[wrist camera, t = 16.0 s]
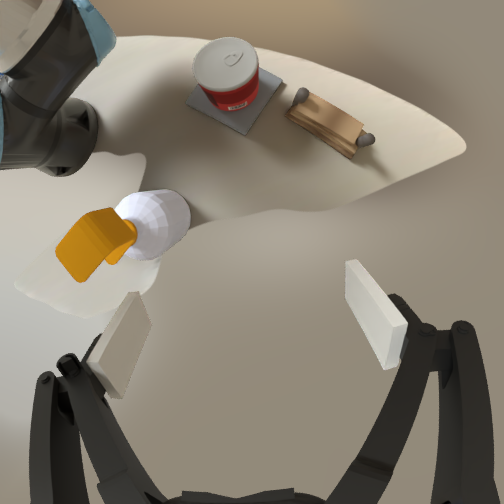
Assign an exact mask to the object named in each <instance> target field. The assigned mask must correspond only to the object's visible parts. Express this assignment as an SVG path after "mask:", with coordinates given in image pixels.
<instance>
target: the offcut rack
mask: <svg viewBox="0 0 504 504" xmlns="http://www.w3.org/2000/svg"><path fill="white" fill-rule="evenodd" d="M285 117H287V118H289V119H290V120H292V121H293V122H295V123H297V124H298V125H300V126H301V127H303V128H305V129H306V130H308V131H309V132H311V133H312V134H314V135H315V136H317V137H318V138H320V139H321V140H323V141H324V142H326V143H327V144H329V145H330V146H332V147H333V148H334V149H336V150H337V151H339V152H340V153H341V154H343V155H344V156H346V157H347V158H348V159H352V157H353V155H354V154H355V152H356V151H357V149H358V148H361V147H365V146H368V145H371V144H374V142H375V137H374V135H373V134H371V133H368V134H367V133H366V132H365V131H364V130H362V127H363V126H364V124H363V123H361V122H359V121H358V120H356V119H355V118H353V117H352V116H350V115H349V114H347V113H345V112H344V111H342V110H340V109H339V108H337V107H335V106H334V105H332V104H330V103H329V102H327V101H325V100H323V99H322V98H320V97H318V96H316V95H314V94H313V93H311V92H309V91H308V90H307V89H306V88H300V89H299V90H298V91H297V94H296V96H295V98H294V101H293V103H292V106H291V108H290V109H289V111H288V112H287V114H286V116H285Z"/></svg>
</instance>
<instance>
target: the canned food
mask: <svg viewBox="0 0 504 504" xmlns="http://www.w3.org/2000/svg"><path fill="white" fill-rule="evenodd" d="M192 69H193V74H194V77H195V79H196V81H197V82H198V84H199V86H200V87H201V89H202V90H203V92H204V93H205V95H206V96H207V98H208V99H209V101H210V102H211V103H212V104H213V105H214V106H215V107H216V108H218V109H220V110H224V111H236V110H240V109H243V108H245V107H246V106H248V105H249V104H250V103H251V102H253V100H254V99H255V98H256V96H257V93H258V89H259V63H258V56H257V53H256V51H255V49H254V47H253V46H252V45H250V44H249V43H248V42H246V41H245V40H242V39H239V38H235V37H226V38H219V39H216V40H213V41H211V42H209V43H208V44H206V45H205V46H203V47H202V48H201V49H200V50H199V52H198V53H197V54H196V56H195V58H194V61H193V68H192Z"/></svg>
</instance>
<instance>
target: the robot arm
mask: <svg viewBox="0 0 504 504" xmlns="http://www.w3.org/2000/svg"><path fill="white" fill-rule="evenodd" d="M115 44H116V36H115V34H114V32H113V30H112V29H111V27H110V26H109V24H108V23H107V22H106V20H105V19H104V18H103V16H102V15H101V14H100V13H99V12H98V11H97V9H96V8H94V6H93V5H92V4H91V3H90V2H89V0H0V73H2V74H4V76H3V77H2V79H1V80H0V170H5V169H19V168H36V169H38V170H40V171H42V172H44V173H46V174H48V175H50V176H54V177H62V176H69V175H71V174H74V173H75V172H77V171H78V170H79V169H80V168H82V166H83V165H84V164H85V163H86V162H87V160H88V159H89V157H90V155H91V153H92V151H93V149H94V146H95V143H96V139H97V132H98V122H97V117H96V114H95V111H94V109H93V108H92V106H91V105H90V104H89V103H87V102H85V101H83V100H80V99H77V98H69V97H70V95H71V94H72V93H73V92H74V91H75V89H76V88H77V87H78V86H79V85H80V84H81V82H82V81H83V80H84V79H85V78H86V77H87V76H88V75H89V73H90V72H91V71H92V70H93V69H94V68H95V67H98V66H99V65H100V63H101V61H102V60H103V59H104V58H105V57H106V56H107V55H108V54H109V53H110V51H111V50H112V49H113V48H114V47H115ZM345 268H346V269H345V299H346V301H347V303H348V305H349V306H350V308H351V310H352V312H353V314H354V315H355V317H356V319H357V321H358V322H359V324H360V326H361V328H362V330H363V332H364V334H365V335H366V337H367V339H368V341H369V343H370V345H371V346H372V348H373V350H374V352H375V354H376V356H377V358H378V360H379V362H380V364H381V366H382V368H383V370H387V369H390V368H394V367H397V366H398V363H399V359H401V364H400V367H399V369H398V372H397V375H396V377H395V380H394V382H393V385H392V387H391V389H390V392H389V394H388V396H387V399H386V401H385V403H384V405H383V408H382V409H381V412H380V414H379V416H378V418H377V420H376V422H375V424H374V426H373V428H372V430H371V432H370V433H369V435H368V437H367V439H366V441H365V443H364V445H363V447H362V448H361V450H360V452H359V453H358V455H357V457H356V458H355V460H354V461H353V462H352V463H351V465H350V466H349V468H348V469H347V471H346V473H345V474H344V476H343V477H342V479H341V480H340V482H339V483H338V485H337V486H336V488H335V489H334V490H333V492H332V493H331V495H330V496H329V497H328V499H327V500H326V501H325V500H323V499H321V498H319V497H316V496H313V495H310V494H305V493H296V492H295V493H294V488H289V489H281V490H271V491H263V492H260V493H257V494H253V495H249V496H245V497H241V498H230V497H225V496H221V495H217V494H212V493H208V492H191V491H182V496H180V497H175V498H172V499H169V500H168V499H167V498H166V497H165V496H164V495H162V493H161V492H160V491H159V490H158V488H157V487H156V486H155V484H154V483H153V481H152V480H151V479H150V477H149V475H148V474H147V473H146V471H145V469H144V468H143V466H142V465H141V463H140V462H139V460H138V458H137V457H136V455H135V453H134V452H133V450H132V448H131V447H130V445H129V443H128V441H127V440H126V438H125V436H124V434H123V432H122V430H121V428H120V426H119V424H118V423H117V421H116V419H115V417H114V415H113V413H112V411H111V409H110V406H109V404H108V402H107V400H106V399H105V397H104V394H105V392H107V393H108V395H109V396H110V397H111V398H117V399H122V398H123V396H124V394H125V391H126V388H127V386H128V383H129V380H130V378H131V375H132V373H133V370H134V368H135V365H136V363H137V360H138V357H139V355H140V352H141V350H142V348H143V345H144V343H145V340H146V338H147V336H148V333H149V331H150V329H151V326H152V324H151V321H150V319H149V317H148V314H147V312H146V309H145V307H144V304H143V302H142V299H141V296H140V294H139V291H137V292H129V293H128V294H127V296H126V297H125V299H124V300H123V302H122V303H121V305H120V306H119V308H118V310H117V311H116V313H115V315H114V316H113V318H112V319H111V321H110V322H109V324H108V326H107V328H106V329H105V330H104V332H103V333H102V334H99V335H98V336H97V337H96V338H95V339H94V341H93V343H92V344H91V346H90V347H89V349H88V351H87V352H86V354H85V356H84V357H83V359H82V361H81V362H79V360H78V358H77V357H76V355H75V354H73V353H68V354H66V355H64V356H62V357H61V358H60V359H59V360H58V362H57V365H56V366H57V368H58V369H59V371H60V372H61V374H62V375H63V376H61V377H56V376H55V375H54V373H53V372H51V371H47V372H44V373H42V374H41V375H40V376H39V378H38V380H37V383H36V389H35V397H34V403H33V411H32V420H31V431H30V449H29V479H30V497H31V503H30V504H90V503H89V498H88V494H87V488H86V483H85V477H84V470H83V463H82V455H81V445H80V435H79V434H81V437H82V439H83V442H84V445H85V448H86V450H87V453H88V455H89V458H90V460H91V462H92V464H93V467H94V469H95V472H96V473H97V476H98V478H99V481H100V483H98V484H97V488H98V491H99V493H100V495H101V497H102V499H103V501H104V503H105V504H377V503H378V501H379V499H380V498H381V496H382V494H383V492H384V491H385V489H386V486H387V485H388V483H389V481H390V479H391V477H392V474H393V470H394V468H395V465H396V463H397V461H398V459H399V457H400V455H401V452H402V450H403V448H404V445H405V443H406V441H407V438H408V436H409V433H410V431H411V428H412V426H413V423H414V420H415V417H416V415H417V412H418V409H419V405H420V403H421V400H422V397H423V393H424V390H425V387H426V383H427V380H428V376H429V372H432V371H438V376H439V377H438V378H439V436H438V451H437V461H436V470H435V477H434V484H433V490H432V497H431V504H500V500H499V496H498V492H497V488H496V485H495V481H494V478H493V477H494V440H493V424H492V414H491V405H490V397H489V391H488V385H487V379H486V374H485V369H484V364H483V359H482V355H481V351H480V347H479V343H478V339H477V336H476V332H475V329H474V327H473V326H472V325H471V324H470V323H469V322H466V321H462V320H461V321H456V322H454V323H453V325H452V327H451V330H437V329H436V327H434V326H433V325H431V324H428V323H422V322H421V320H420V319H419V318H418V316H417V315H416V314H415V313H414V312H413V311H412V309H410V307H409V306H408V304H406V302H405V301H404V300H403V298H402V297H400V296H398V295H396V294H390V295H386V294H385V293H384V292H383V290H382V289H381V288H380V286H379V285H378V284H377V283H376V281H375V280H374V279H373V278H372V277H371V275H370V274H369V273H368V272H367V271H366V270H365V268H364V267H363V266H362V265H361V263H360V262H359V261H358V260H357V259H354V260H348V261H345ZM79 431H80V433H79Z"/></svg>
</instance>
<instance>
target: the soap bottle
mask: <svg viewBox="0 0 504 504" xmlns="http://www.w3.org/2000/svg"><path fill="white" fill-rule="evenodd" d="M190 220H191V214H190V210H189V206H188V204H187V203H186V201H185V200H184V198H183V197H182V196H181V195H179V194H178V193H176V192H175V191H171V190H168V189H162V190H153V191H144V192H136V193H132V194H130V195H128V196H127V197H125V198H123V199H122V200H121V202H120V203H119V204H118V206H117V207H116V208H115V210H114V209H113V208H106V209H101V210H96V211H92V212H89V213H87V214H85V215H84V216H82V217H81V218H80V219H79V220H78V221H77V222H76V223H75V224H74V226H73V227H72V228H71V229H70V230H69V232H68V233H67V234H66V235H65V237H64V238H63V239H62V240H61V242H60V243H59V244H58V246H57V247H56V250H55V253H56V257H57V258H58V259H59V261H60V262H61V263H62V264H63V266H64V267H65V268H66V269H67V271H68V272H69V273H70V274H71V276H72V277H73V278H74V279H75V280H76V281H77V282H79V283H81V282H85V281H86V280H87V279H88V278H89V276H90V275H91V274H92V273H93V272H94V271H95V269H96V268H97V267H98V266H99V265H100V264H101V262H102V261H103V260H104V259H105V260H106V262H107V263H108V264H111V265H114V264H116V263H117V262H118V261H119V259H120V258H121V257H122V256H123V255H124V254H125V255H127V256H128V257H131V258H134V259H137V260H152V259H154V258H156V257H158V256H160V255H162V254H163V253H164V252H165V251H167V250H168V249H169V248H171V247H172V246H173V245H175V244H176V243H177V242H178V241H180V240H181V238H183V237H184V236H185V235H186V233H187V231H188V229H189V227H190Z"/></svg>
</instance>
